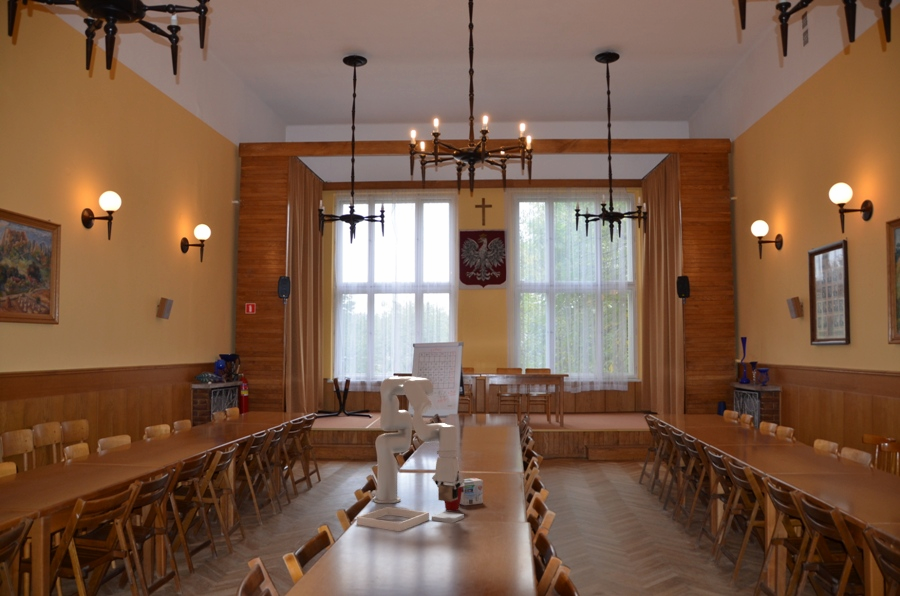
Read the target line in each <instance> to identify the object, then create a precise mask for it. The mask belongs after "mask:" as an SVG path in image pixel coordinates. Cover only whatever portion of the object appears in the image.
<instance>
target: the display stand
mask: <svg viewBox="0 0 900 596" xmlns="http://www.w3.org/2000/svg"><path fill="white" fill-rule="evenodd" d="M463 519H465V514H464V513H456V512H451V511H442V512H440V513H437V514H435V515H432V516H431V521H436V522H443V523H444V522H445V523H448V524H449V523H451V524H453V523H456V522H458V521H460V520H463Z"/></svg>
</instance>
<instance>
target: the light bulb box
mask: <svg viewBox="0 0 900 596" xmlns="http://www.w3.org/2000/svg"><path fill="white" fill-rule="evenodd" d="M463 479H464V478H463ZM459 481H460V480H459ZM459 481H457V482H459ZM463 483H464V484H465V485H464V487H463V489H462V493H461V499H460V504H459V505H463V506H471V505H478V504H479V505H480V504H483V502H484V501H483V497H484V496H483V493H484V491H483V489H484V484H483V483H484V480H483V479H479V478H476V477H471V478H465V479H464V482H463Z"/></svg>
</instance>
